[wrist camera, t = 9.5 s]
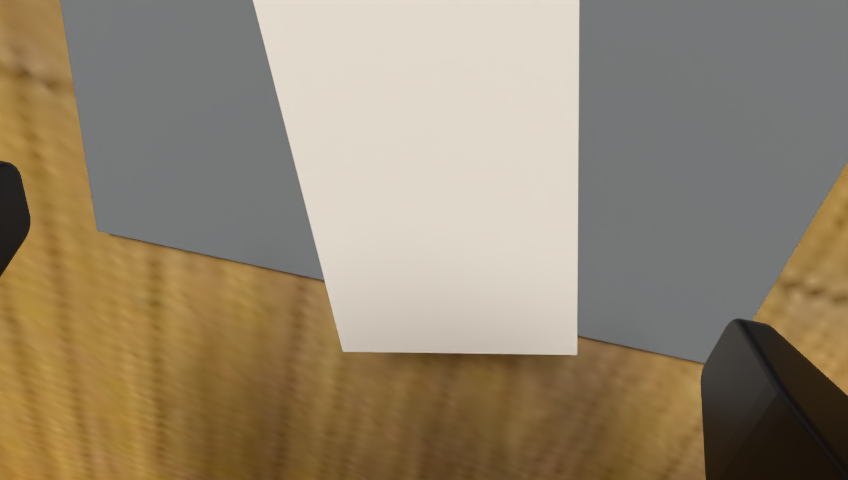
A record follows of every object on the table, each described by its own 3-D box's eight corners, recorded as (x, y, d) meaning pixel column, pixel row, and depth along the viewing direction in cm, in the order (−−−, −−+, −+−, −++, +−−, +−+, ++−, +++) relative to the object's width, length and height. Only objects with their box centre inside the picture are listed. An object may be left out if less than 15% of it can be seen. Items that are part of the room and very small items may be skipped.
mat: (1081, -255, 11) (1098, -255, 10) (720, 357, 19) (723, 367, 18) (1, -456, 11) (-15, -463, 11) (104, 223, 19) (97, 230, 19)
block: (570, 244, 17) (577, 354, 14) (379, 247, 18) (343, 351, 15) (570, -238, 11) (580, -243, 8) (294, -196, 12) (205, -187, 9)
